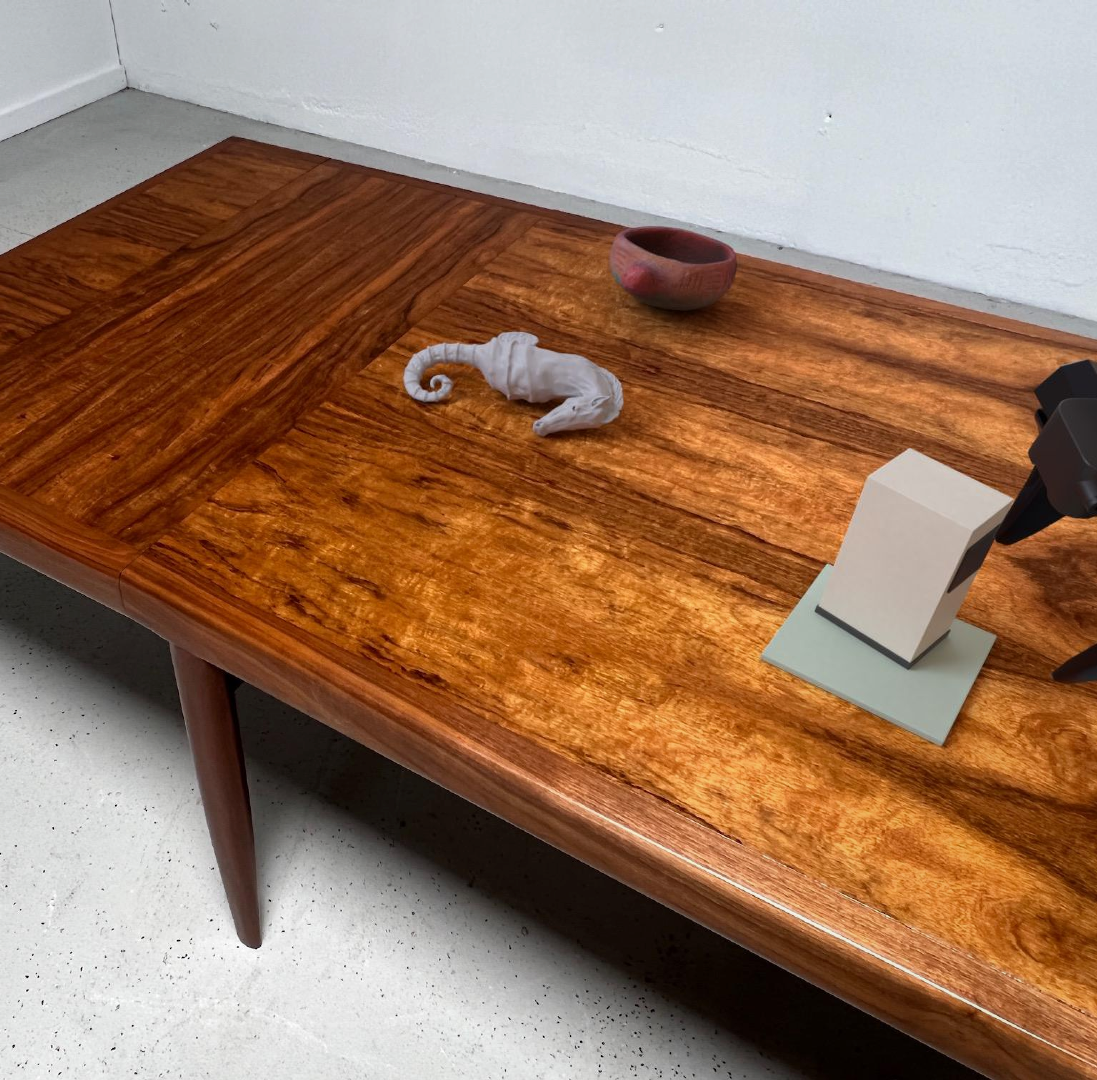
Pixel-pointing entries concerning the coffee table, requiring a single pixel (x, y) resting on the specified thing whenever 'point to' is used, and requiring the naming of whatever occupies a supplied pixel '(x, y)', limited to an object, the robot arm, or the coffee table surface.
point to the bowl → (672, 267)
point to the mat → (881, 668)
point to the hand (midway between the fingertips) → (1027, 607)
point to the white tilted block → (911, 555)
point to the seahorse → (527, 379)
